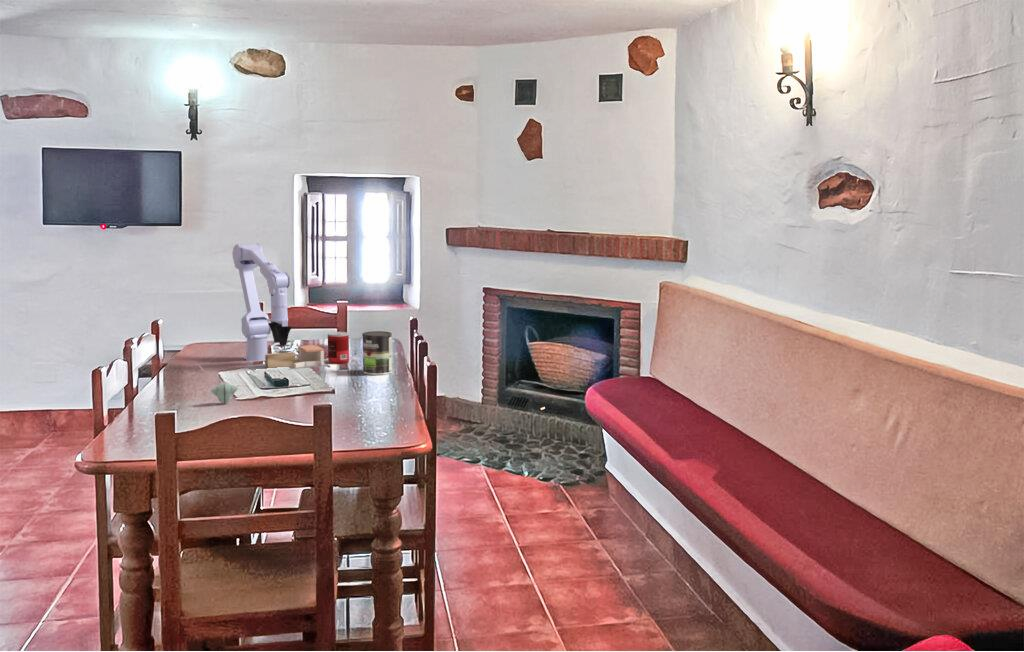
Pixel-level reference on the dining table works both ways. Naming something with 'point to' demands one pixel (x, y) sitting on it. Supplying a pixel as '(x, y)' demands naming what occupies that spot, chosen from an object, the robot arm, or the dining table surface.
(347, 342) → the canned food
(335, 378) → the dining table surface
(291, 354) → the tan cardboard block
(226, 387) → the pale green angular piece
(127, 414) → the dining table surface
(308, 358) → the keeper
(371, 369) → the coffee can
